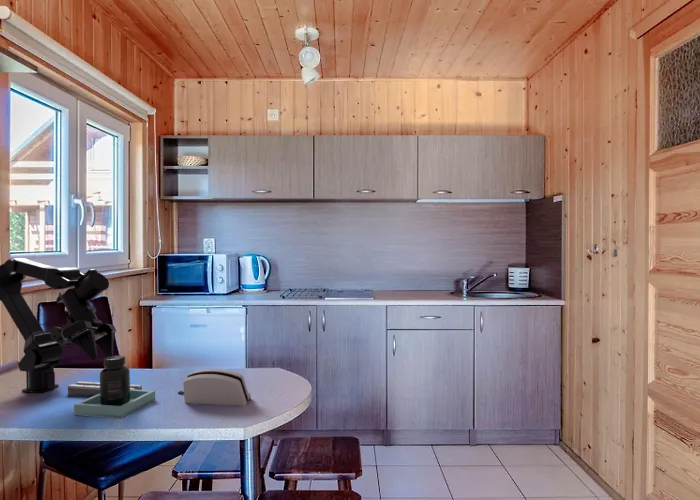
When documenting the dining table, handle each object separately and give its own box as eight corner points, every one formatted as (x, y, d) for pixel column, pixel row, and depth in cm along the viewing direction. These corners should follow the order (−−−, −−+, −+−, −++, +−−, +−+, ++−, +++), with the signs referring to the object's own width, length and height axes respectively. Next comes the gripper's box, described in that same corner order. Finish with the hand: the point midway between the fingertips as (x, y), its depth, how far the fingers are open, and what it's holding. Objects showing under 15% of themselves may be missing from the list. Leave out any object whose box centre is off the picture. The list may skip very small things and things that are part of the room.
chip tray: (74, 414, 112) (74, 404, 112) (112, 397, 125) (112, 388, 125) (121, 418, 109) (121, 407, 109) (155, 400, 122) (155, 390, 122)
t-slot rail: (67, 395, 127) (67, 385, 127) (79, 390, 131) (79, 381, 131) (132, 399, 123) (132, 389, 123) (141, 394, 127) (141, 385, 127)
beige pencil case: (252, 398, 122) (247, 366, 119) (246, 411, 118) (240, 377, 114) (193, 396, 125) (186, 364, 121) (185, 408, 120) (177, 375, 117)
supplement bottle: (136, 400, 120) (135, 354, 120) (119, 410, 113) (118, 361, 113) (111, 399, 121) (110, 353, 121) (93, 409, 114) (93, 360, 114)
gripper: (69, 325, 135) (91, 373, 132) (30, 320, 117) (54, 376, 114) (105, 306, 137) (127, 353, 134) (72, 299, 119) (97, 353, 116)
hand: (103, 359), depth 125 cm, fingers open, 9 cm apart
